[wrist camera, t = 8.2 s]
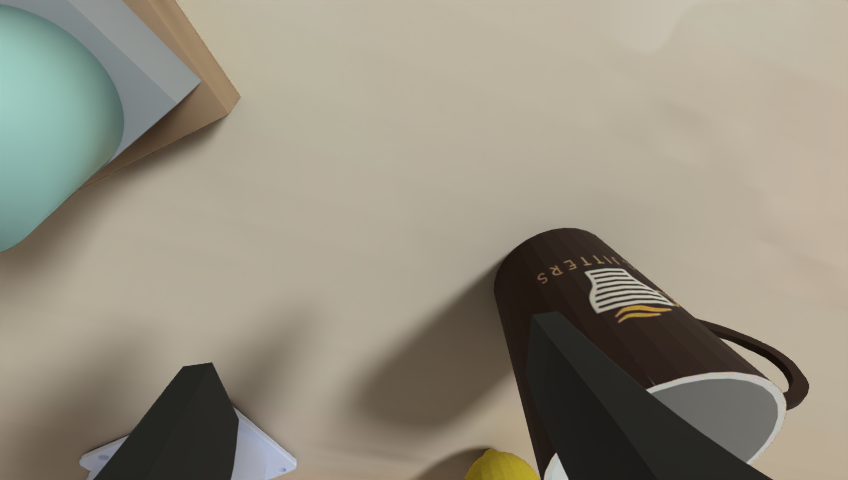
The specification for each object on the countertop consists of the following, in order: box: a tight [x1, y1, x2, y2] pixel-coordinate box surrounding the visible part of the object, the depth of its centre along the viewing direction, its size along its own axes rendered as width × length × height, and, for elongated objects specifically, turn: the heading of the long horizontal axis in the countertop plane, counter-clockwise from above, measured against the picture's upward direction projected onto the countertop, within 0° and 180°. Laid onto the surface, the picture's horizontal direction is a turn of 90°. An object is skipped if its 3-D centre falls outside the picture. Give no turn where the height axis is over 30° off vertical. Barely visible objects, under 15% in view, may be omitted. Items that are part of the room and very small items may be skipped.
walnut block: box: [80, 0, 241, 189], centre depth 14 cm, size 6×6×2 cm
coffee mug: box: [494, 228, 809, 480], centre depth 20 cm, size 12×9×10 cm
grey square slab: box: [0, 0, 201, 201], centre depth 12 cm, size 5×5×2 cm
